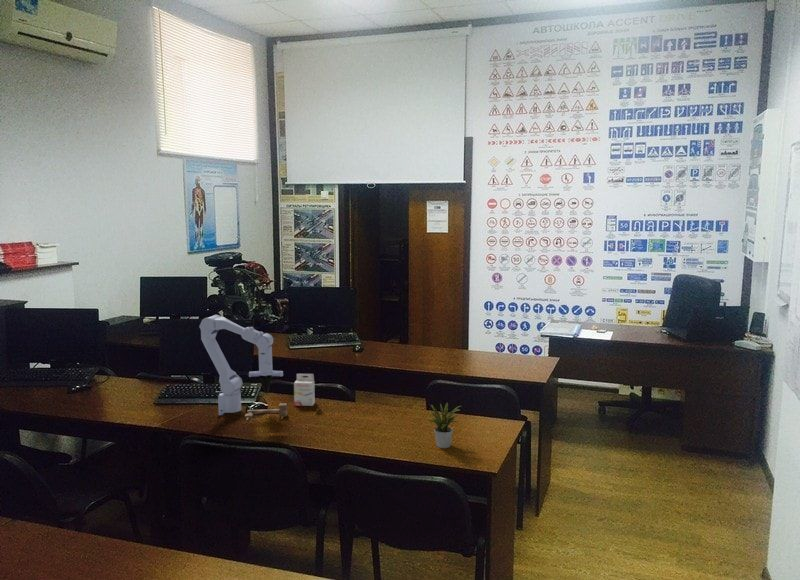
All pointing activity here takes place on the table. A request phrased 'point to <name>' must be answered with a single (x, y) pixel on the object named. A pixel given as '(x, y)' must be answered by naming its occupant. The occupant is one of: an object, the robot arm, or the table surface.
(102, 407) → the table surface
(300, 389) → the ink cartridge box
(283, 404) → the sliding leg
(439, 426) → the house plant
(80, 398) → the table surface
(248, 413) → the beam and fixed leg
